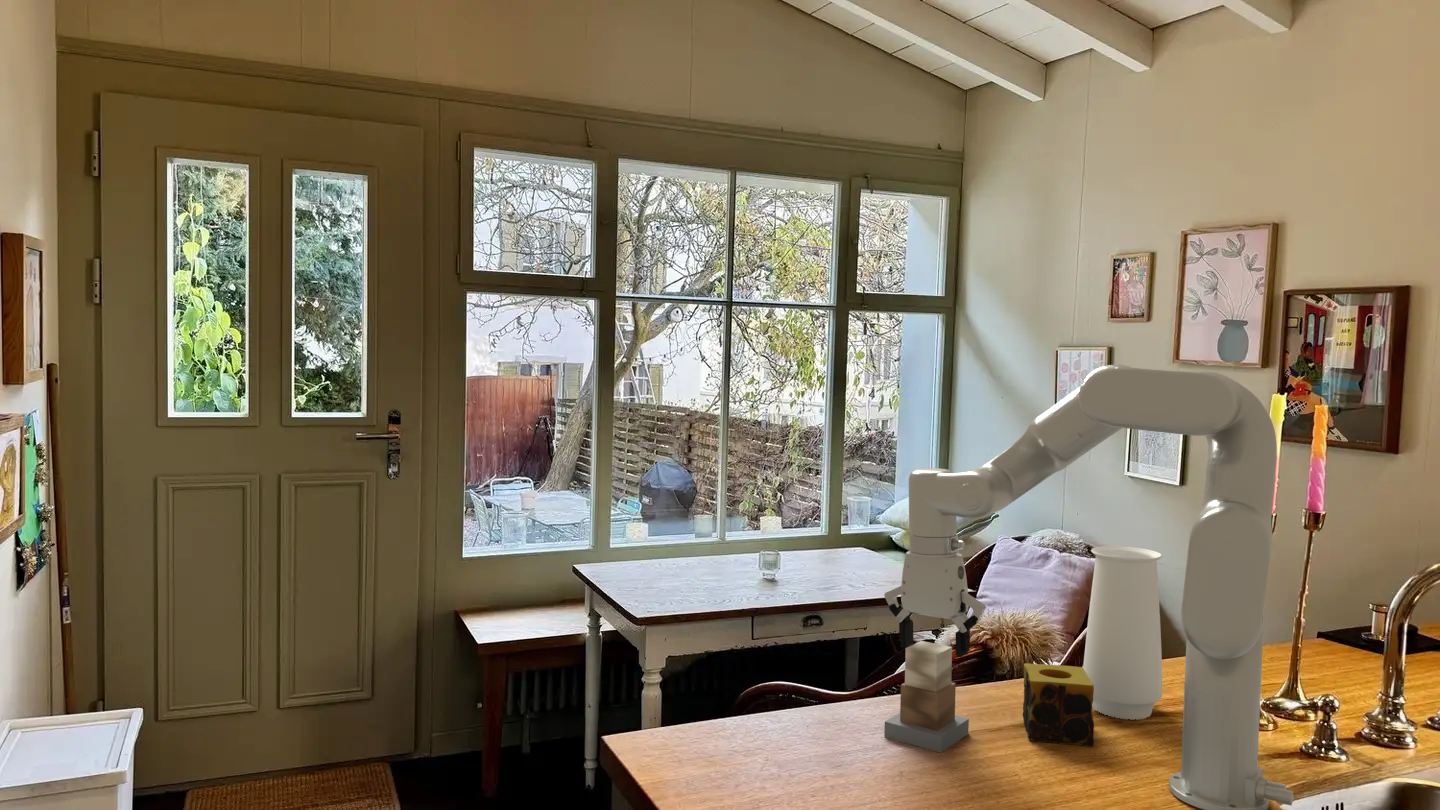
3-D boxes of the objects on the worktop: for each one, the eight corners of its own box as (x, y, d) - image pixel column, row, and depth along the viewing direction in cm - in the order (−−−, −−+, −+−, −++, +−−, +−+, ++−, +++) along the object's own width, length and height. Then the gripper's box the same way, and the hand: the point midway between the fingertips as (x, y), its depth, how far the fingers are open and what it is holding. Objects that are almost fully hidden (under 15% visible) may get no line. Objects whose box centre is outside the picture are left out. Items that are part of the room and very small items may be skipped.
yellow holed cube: (1094, 748, 155) (1096, 686, 155) (1028, 742, 157) (1029, 681, 157) (1083, 724, 165) (1085, 666, 165) (1021, 719, 167) (1023, 661, 167)
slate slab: (968, 733, 160) (968, 718, 160) (941, 752, 153) (941, 736, 152) (913, 719, 167) (913, 704, 166) (884, 736, 159) (884, 721, 159)
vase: (1171, 725, 165) (1176, 561, 164) (1090, 720, 167) (1095, 557, 166) (1149, 699, 178) (1154, 546, 176) (1075, 694, 180) (1079, 543, 178)
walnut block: (954, 719, 160) (955, 683, 160) (936, 731, 155) (937, 693, 155) (918, 710, 164) (919, 674, 164) (900, 721, 159) (900, 684, 159)
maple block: (951, 683, 159) (952, 647, 159) (935, 692, 155) (936, 654, 155) (920, 676, 163) (921, 640, 163) (904, 684, 159) (905, 648, 158)
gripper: (993, 546, 156) (994, 653, 156) (896, 537, 167) (897, 636, 167) (973, 554, 150) (974, 664, 150) (874, 543, 161) (875, 647, 161)
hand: (934, 650), depth 159 cm, fingers open, 9 cm apart
